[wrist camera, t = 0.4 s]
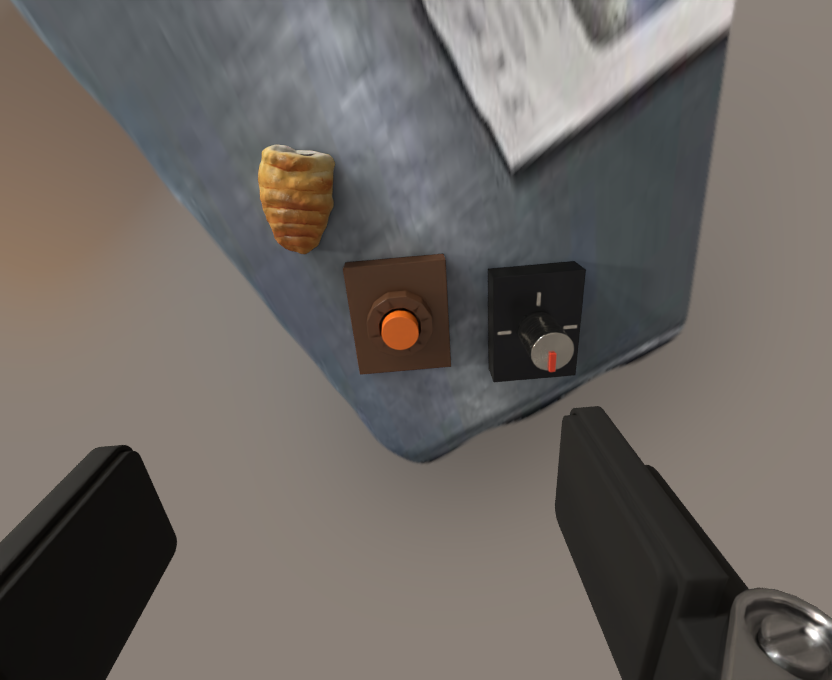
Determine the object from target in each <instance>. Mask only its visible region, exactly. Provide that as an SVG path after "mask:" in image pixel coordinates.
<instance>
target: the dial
mask: <svg viewBox="0 0 832 680" xmlns="http://www.w3.org/2000/svg"><path fill="white" fill-rule="evenodd" d="M518 336H519V339H520V340H521V342H522V344H523V346H524V347H525V349H526V351H527V353H528V354H529V356H530V358H531V360H532V361H533V363H534V364H535V365H536V366H537V367H538V368H540V369H543V370H548V371H549V372H555V370H556V369H559V368H561V367H563V366H564V365H566V364H567V363H568V362H569V361H570V359H571V358H572V356H573V352H574V345H573V342H572V340H571V339H570V337H569V336H568V335H567V334H566V333H565V331H564V330H563V329H562V328H561V326H560V325H559V324H558V323H557V322H556V320H555V319H554V318H553V317H552V316H551V315H550V314H548V313H545V312H535V313H532V314H530V315H528V316H526V317H525V318H524V319H523V320H522V322H521V323H520V325H519V328H518Z"/></svg>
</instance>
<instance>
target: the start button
mask: <svg viewBox="0 0 832 680" xmlns="http://www.w3.org/2000/svg"><path fill="white" fill-rule="evenodd" d="M418 336H419V329H418V322H417V319H416V318H415V316H414V315H413V314H411V313H410V312H408V311H405V310H395V311H392V312H390V313H389V314H388V315H387V316H386V317H385V318H384V320H383V323H382V338H383V340H384V342H385V343H386V344H387V345H388V346H389V347H391V348H393V349H396V350H404V349H408V348H410V347H411V346H413V345H414V344H415V343H416V341H417V339H418Z"/></svg>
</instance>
